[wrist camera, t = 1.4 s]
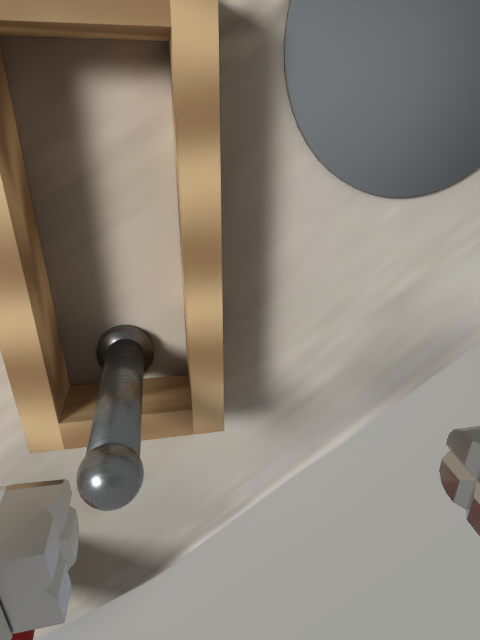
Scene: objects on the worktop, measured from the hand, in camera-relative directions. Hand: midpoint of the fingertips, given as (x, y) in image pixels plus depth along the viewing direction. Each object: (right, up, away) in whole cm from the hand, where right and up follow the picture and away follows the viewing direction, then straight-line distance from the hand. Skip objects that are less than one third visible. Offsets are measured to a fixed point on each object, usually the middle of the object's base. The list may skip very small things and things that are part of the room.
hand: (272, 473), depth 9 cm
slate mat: (+9, +18, +15) cm, 25 cm away
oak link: (-8, +8, +16) cm, 20 cm away
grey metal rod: (-8, +1, +19) cm, 21 cm away
